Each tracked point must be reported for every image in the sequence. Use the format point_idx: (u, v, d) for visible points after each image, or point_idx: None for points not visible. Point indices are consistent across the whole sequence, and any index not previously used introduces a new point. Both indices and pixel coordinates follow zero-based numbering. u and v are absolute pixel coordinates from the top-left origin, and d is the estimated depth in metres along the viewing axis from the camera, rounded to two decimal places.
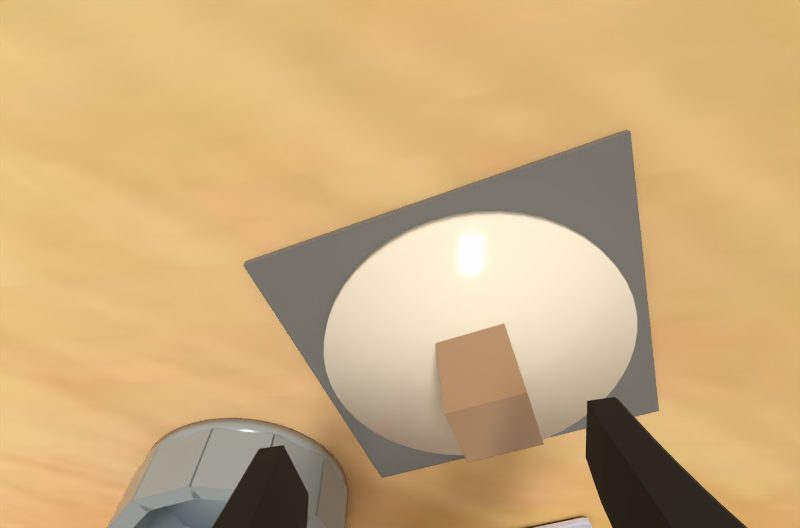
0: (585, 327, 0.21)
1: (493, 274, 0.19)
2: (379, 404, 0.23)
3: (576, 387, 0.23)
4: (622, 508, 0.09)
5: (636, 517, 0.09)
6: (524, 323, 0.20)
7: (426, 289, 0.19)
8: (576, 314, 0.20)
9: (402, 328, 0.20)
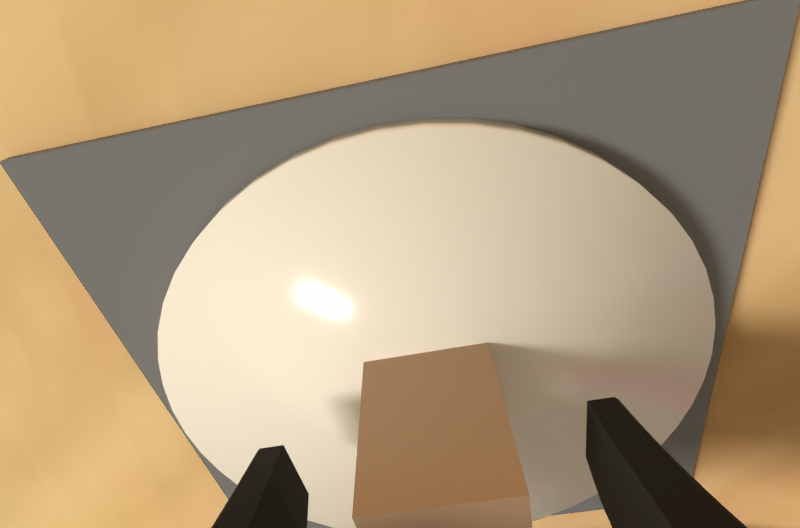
0: (397, 238, 0.10)
1: (259, 373, 0.12)
2: None
3: (571, 246, 0.10)
4: (622, 508, 0.09)
5: (636, 517, 0.09)
6: (369, 334, 0.11)
7: (286, 442, 0.13)
8: (359, 255, 0.10)
9: (353, 470, 0.14)
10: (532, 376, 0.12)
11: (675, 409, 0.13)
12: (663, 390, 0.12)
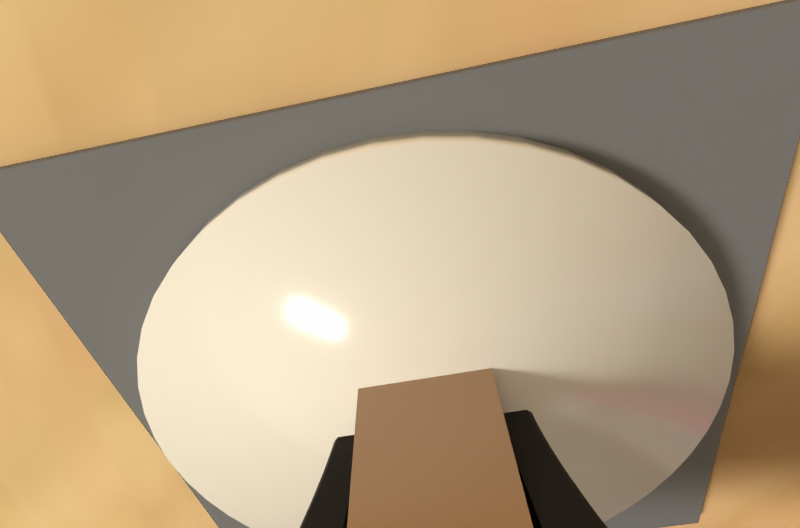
0: (393, 259, 0.09)
1: (247, 400, 0.11)
2: None
3: (581, 268, 0.09)
4: None
5: None
6: (364, 360, 0.10)
7: (276, 470, 0.13)
8: (353, 278, 0.09)
9: None
10: (537, 403, 0.11)
11: (689, 436, 0.12)
12: (677, 417, 0.12)
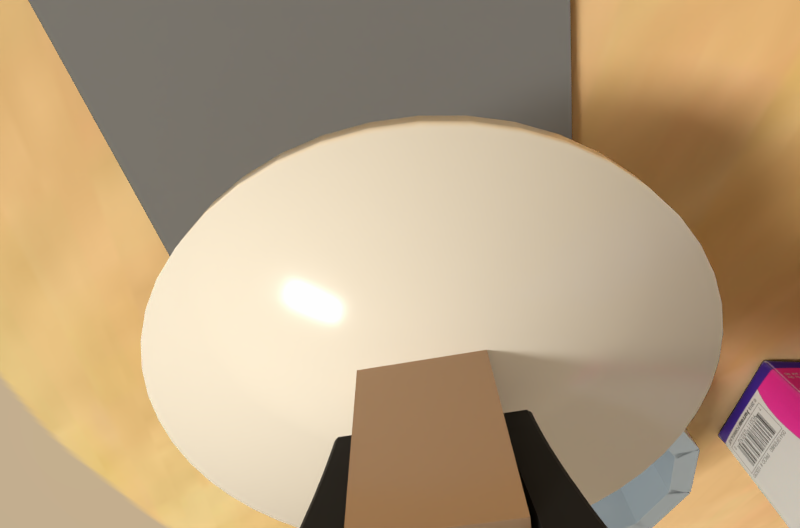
0: (390, 242, 0.09)
1: (248, 382, 0.11)
2: None
3: (574, 251, 0.10)
4: None
5: None
6: (363, 342, 0.11)
7: (277, 451, 0.13)
8: (351, 261, 0.10)
9: None
10: (532, 383, 0.12)
11: (680, 416, 0.12)
12: (667, 398, 0.12)
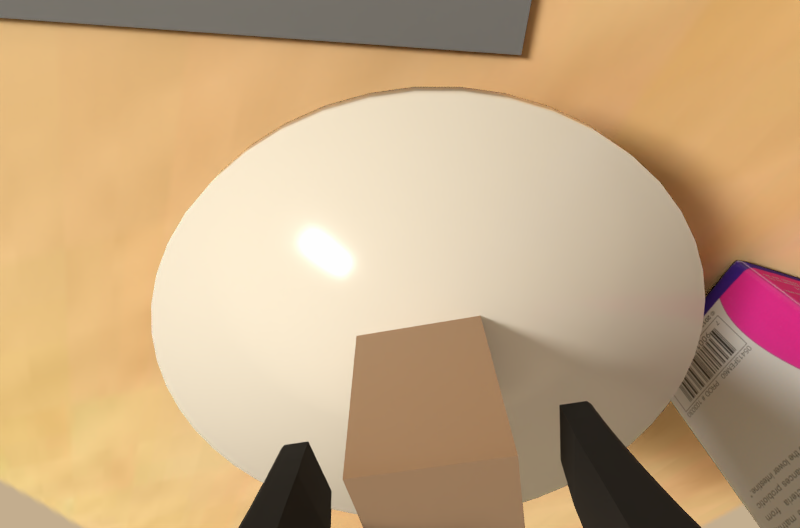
0: (388, 207, 0.10)
1: (253, 347, 0.12)
2: None
3: (561, 216, 0.10)
4: (591, 512, 0.09)
5: (603, 521, 0.09)
6: (362, 307, 0.11)
7: (280, 419, 0.13)
8: (351, 225, 0.10)
9: None
10: (523, 350, 0.12)
11: (666, 385, 0.13)
12: (654, 366, 0.13)
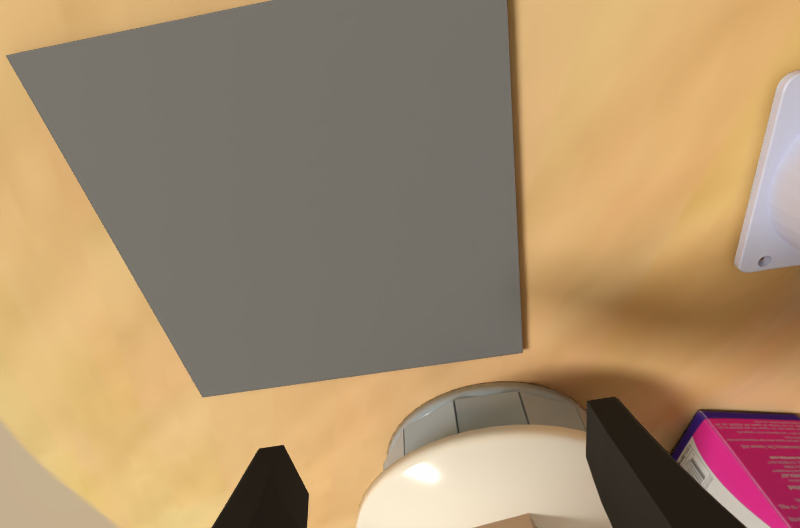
0: (469, 482, 0.20)
1: None
2: None
3: (559, 472, 0.19)
4: (622, 508, 0.09)
5: (636, 517, 0.09)
6: (464, 518, 0.21)
7: None
8: (452, 491, 0.20)
9: None
10: (558, 522, 0.21)
11: None
12: None
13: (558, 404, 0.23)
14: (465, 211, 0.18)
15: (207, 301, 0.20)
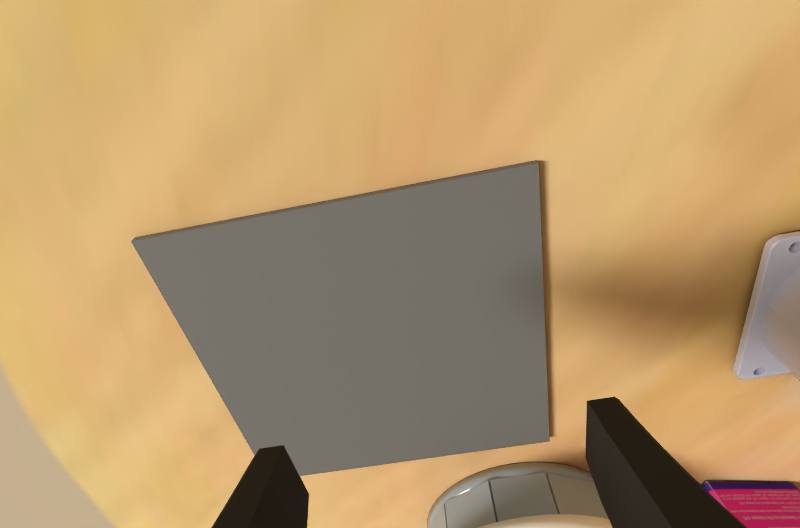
0: None
1: None
2: None
3: None
4: (622, 508, 0.09)
5: (636, 517, 0.09)
6: None
7: None
8: None
9: None
10: None
11: None
12: None
13: (581, 483, 0.26)
14: (502, 339, 0.21)
15: (279, 408, 0.23)
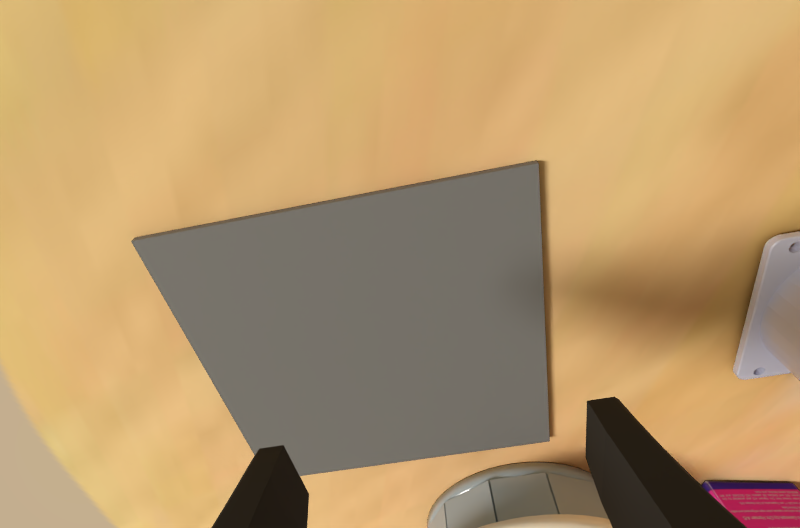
0: None
1: None
2: None
3: None
4: (622, 508, 0.09)
5: (636, 517, 0.09)
6: None
7: None
8: None
9: None
10: None
11: None
12: None
13: (581, 483, 0.26)
14: (502, 339, 0.21)
15: (279, 408, 0.23)
